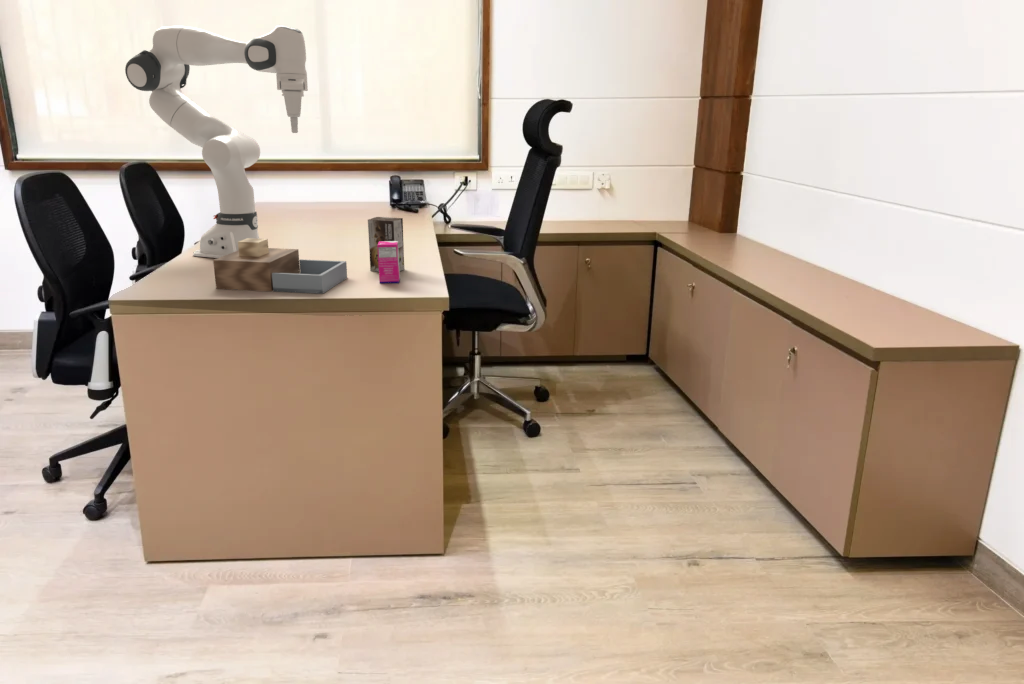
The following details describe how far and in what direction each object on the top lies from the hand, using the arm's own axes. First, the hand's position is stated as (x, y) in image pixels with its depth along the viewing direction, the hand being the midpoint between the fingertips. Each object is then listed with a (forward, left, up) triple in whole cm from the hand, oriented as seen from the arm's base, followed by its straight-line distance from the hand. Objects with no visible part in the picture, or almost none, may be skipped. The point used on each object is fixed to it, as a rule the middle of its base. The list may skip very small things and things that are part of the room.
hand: (294, 132), depth 228 cm
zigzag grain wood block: (-2, -27, -41) cm, 49 cm away
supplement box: (+34, -19, -41) cm, 57 cm away
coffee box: (+29, -4, -41) cm, 50 cm away
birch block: (-3, -27, -33) cm, 43 cm away
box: (+13, -27, -41) cm, 51 cm away
